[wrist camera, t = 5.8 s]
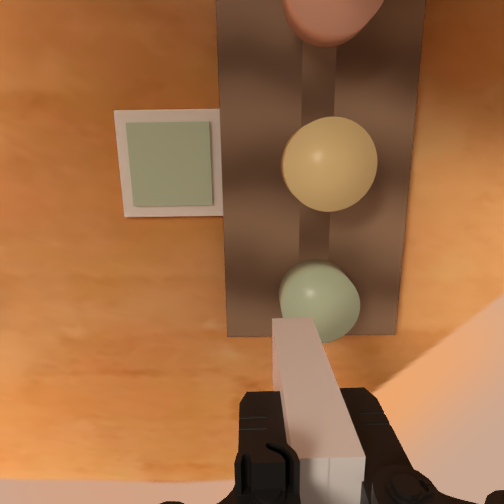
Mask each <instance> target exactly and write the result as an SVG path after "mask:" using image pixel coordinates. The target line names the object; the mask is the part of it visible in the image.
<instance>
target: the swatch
mask: <svg viewBox="0 0 504 504" xmlns="http://www.w3.org/2000/svg"><path fill="white" fill-rule="evenodd" d="M113 111H114V121H115V130H116V140H117V150H118V160H119V170H120V179H121V189H122V199H123V209H124V217H170V216H223V193H222V164H221V135H220V109H161V110H113Z"/></svg>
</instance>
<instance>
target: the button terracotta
mask: <svg viewBox="0 0 504 504" xmlns="http://www.w3.org/2000/svg"><path fill="white" fill-rule="evenodd" d="M383 1H384V0H282V6H283V11H284V15H285V18H286V20H287V22H288V24H289V26H290V28H291V29H292V30H293V32H294V33H295V34H296V35H297V36H298V37H299V38H300V39H302V40H303V41H305V42H306V43H308V44H311V45H313V46H317V47H326V48H327V47H334V46H338V45H341V44H344V43H345V42H347V41H349V40H350V39H352V38H353V37H354V36H356V35H357V34H358V33H359V32H360V31H361V29H362V28H363V27H364V26H365V25H366V24H367V23H368V22H369V20H370V19H371V18H372V17H373V16H374V15H375V14H376V12H377V11H378V10H379V8H380V7H381V5H382V3H383Z"/></svg>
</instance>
